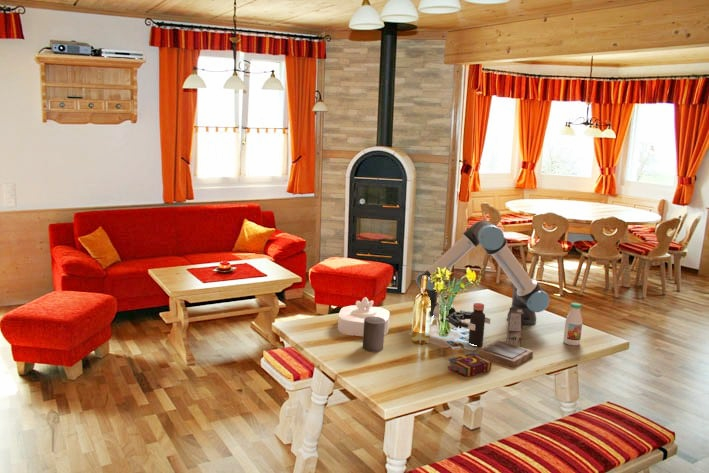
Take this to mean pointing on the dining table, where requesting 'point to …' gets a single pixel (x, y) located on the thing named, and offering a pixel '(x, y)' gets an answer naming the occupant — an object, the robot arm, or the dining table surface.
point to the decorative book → (469, 364)
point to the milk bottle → (573, 325)
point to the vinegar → (477, 325)
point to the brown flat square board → (505, 353)
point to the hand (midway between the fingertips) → (482, 324)
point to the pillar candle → (373, 334)
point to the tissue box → (360, 317)
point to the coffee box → (515, 326)
